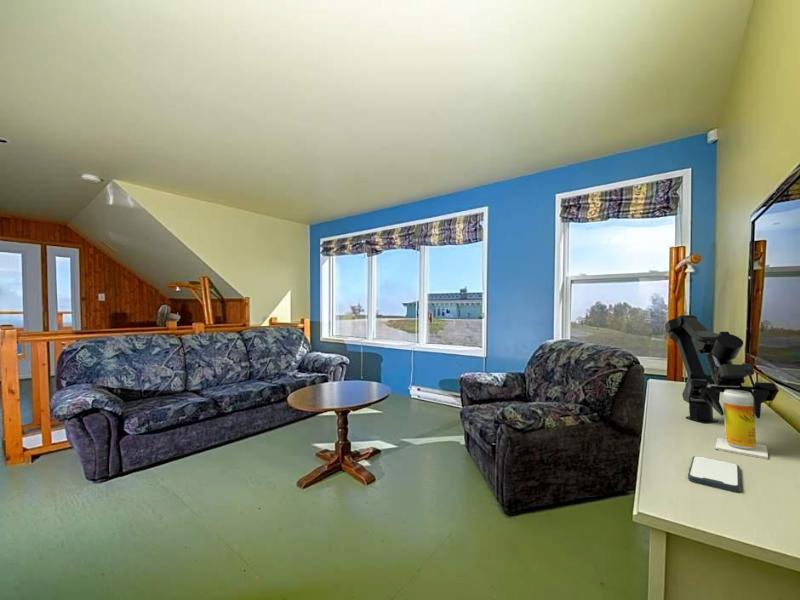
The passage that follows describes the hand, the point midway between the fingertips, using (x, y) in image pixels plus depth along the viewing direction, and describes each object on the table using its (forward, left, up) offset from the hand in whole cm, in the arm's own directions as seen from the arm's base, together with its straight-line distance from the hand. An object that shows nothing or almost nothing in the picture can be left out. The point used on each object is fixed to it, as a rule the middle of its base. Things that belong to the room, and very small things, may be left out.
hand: (740, 416), depth 95 cm
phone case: (+22, +7, -10) cm, 25 cm away
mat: (-1, -1, -9) cm, 9 cm away
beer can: (-1, -1, -9) cm, 9 cm away
